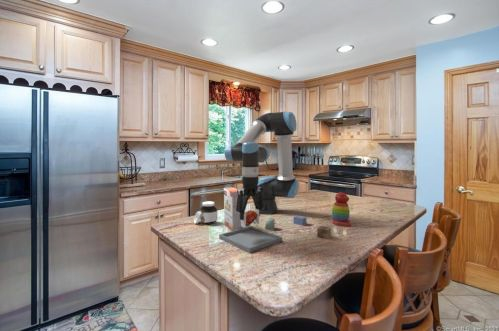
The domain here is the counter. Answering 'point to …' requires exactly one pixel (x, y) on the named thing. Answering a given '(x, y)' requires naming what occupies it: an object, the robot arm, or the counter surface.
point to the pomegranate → (250, 217)
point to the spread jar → (206, 213)
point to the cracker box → (231, 209)
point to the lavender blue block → (299, 220)
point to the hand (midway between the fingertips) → (250, 224)
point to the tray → (250, 238)
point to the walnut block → (324, 232)
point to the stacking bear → (341, 210)
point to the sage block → (269, 224)
